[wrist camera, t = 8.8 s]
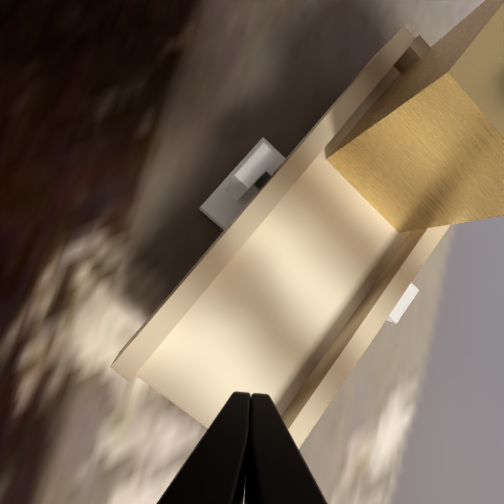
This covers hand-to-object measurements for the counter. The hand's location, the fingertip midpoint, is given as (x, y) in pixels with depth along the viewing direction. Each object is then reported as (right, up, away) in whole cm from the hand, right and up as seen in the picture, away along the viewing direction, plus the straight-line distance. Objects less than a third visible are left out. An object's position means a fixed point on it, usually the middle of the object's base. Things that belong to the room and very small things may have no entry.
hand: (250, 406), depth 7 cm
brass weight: (+9, +9, +11) cm, 17 cm away
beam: (+4, +4, +11) cm, 13 cm away
